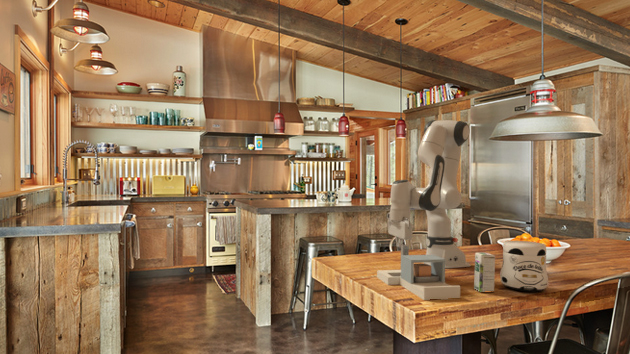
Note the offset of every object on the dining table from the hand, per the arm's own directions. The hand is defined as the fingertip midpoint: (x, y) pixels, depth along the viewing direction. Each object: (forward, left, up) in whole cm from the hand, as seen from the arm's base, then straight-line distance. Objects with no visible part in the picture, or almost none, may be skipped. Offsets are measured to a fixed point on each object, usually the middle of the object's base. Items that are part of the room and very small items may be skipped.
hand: (399, 247), depth 198 cm
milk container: (-40, +31, -12) cm, 52 cm away
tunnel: (0, +24, -9) cm, 25 cm away
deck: (+3, +22, -12) cm, 26 cm away
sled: (0, +16, -9) cm, 18 cm away
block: (0, +24, -9) cm, 25 cm away
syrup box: (-22, +32, -12) cm, 40 cm away
